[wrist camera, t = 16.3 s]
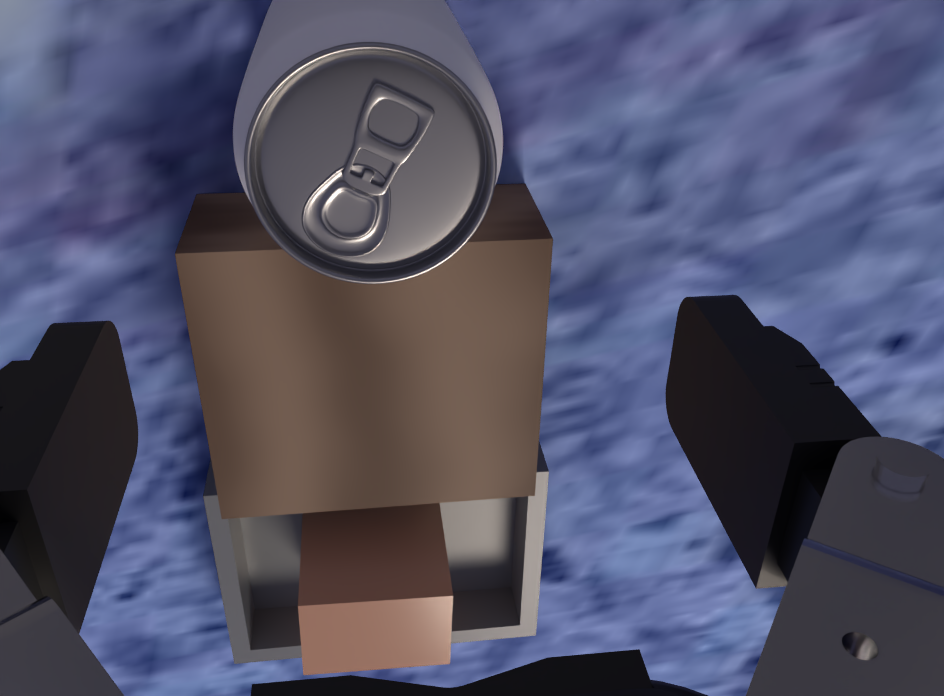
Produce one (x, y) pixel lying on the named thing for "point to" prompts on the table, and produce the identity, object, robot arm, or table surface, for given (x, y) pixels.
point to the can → (367, 136)
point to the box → (469, 557)
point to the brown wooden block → (366, 366)
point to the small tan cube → (374, 589)
